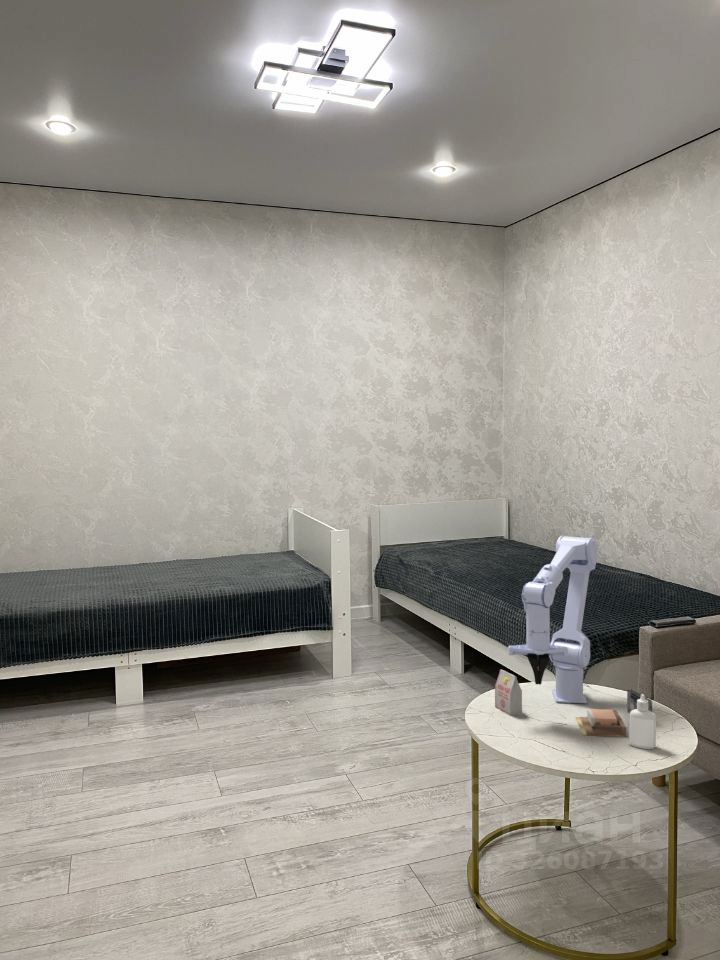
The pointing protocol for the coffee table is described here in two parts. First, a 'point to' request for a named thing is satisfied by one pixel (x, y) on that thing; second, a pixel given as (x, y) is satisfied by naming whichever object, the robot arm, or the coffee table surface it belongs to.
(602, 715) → the trolley
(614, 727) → the tray
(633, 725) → the eye dropper bottle
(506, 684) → the gable top carton
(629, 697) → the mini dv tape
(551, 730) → the coffee table surface
